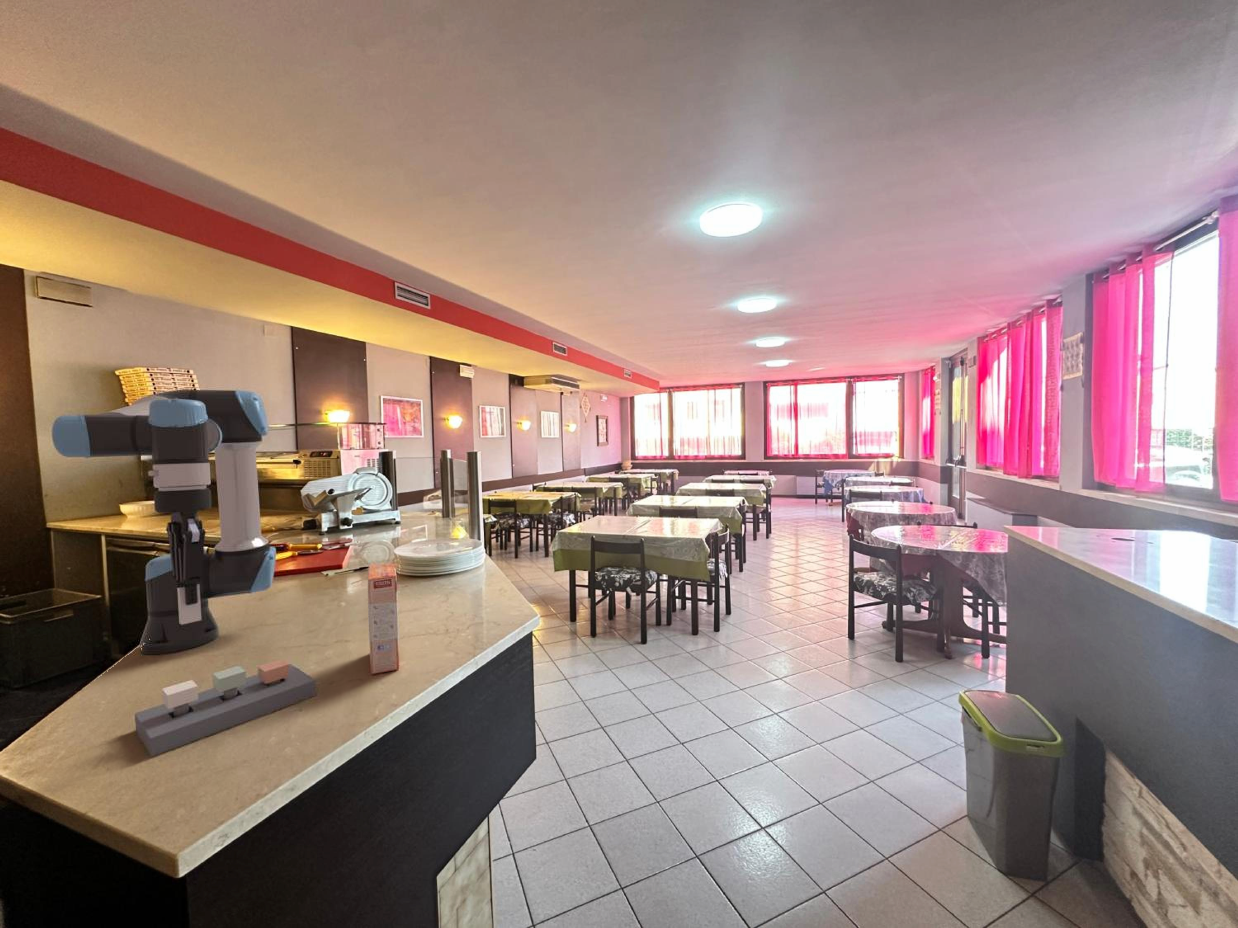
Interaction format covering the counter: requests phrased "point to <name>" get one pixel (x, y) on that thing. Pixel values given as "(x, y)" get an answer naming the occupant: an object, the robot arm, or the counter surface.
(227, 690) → the key sage
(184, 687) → the key ivory
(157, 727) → the console
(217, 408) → the robot arm
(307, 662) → the counter surface
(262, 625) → the counter surface
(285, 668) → the key terracotta
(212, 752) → the counter surface
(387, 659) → the cracker box
